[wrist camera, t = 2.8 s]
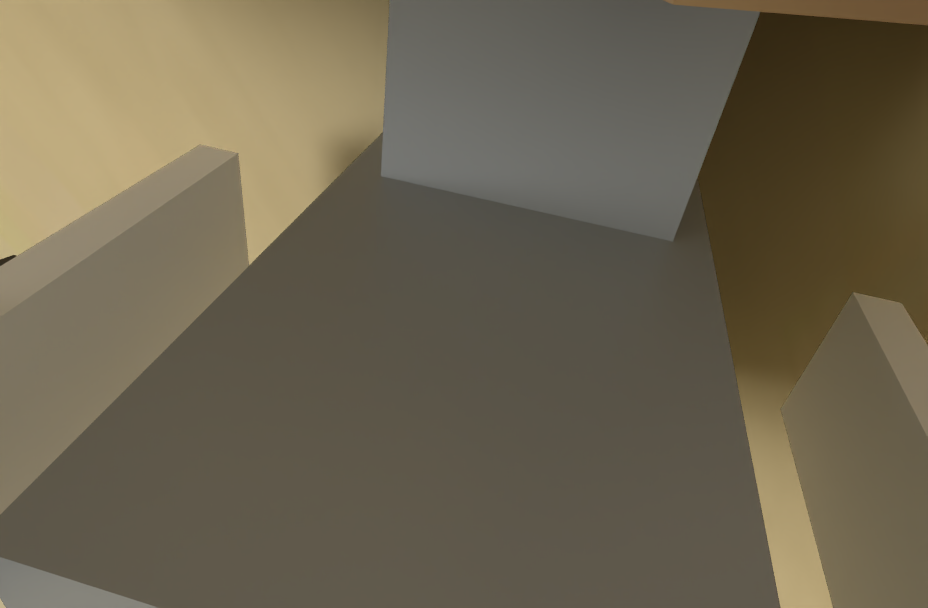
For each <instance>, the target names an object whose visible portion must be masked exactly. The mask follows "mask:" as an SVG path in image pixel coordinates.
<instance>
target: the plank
mask: <svg viewBox="0 0 928 608" xmlns="http://www.w3.org/2000/svg"><path fill="white" fill-rule="evenodd" d="M663 1H666V2H668V3H670V4H673V5H684V6H696V7H708V8H721V9H733V10H745V11H758V12H770V13H782V14H795V15H807V16H819V17H832V18H844V19H856V20H869V21H881V22H893V23H906V24H918V25H928V0H663Z"/></svg>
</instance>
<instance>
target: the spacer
mask: <svg viewBox="0 0 928 608" xmlns="http://www.w3.org/2000/svg"><path fill="white" fill-rule="evenodd" d="M759 14H760V12H758V11H745V10H733V9H721V8H708V7H696V6H684V5H673V4H670V3H668V2H666V1H663V0H390V4H389V24H388V44H387V64H386V83H385V103H384V123H383V133H382V134H381V135H380V136H379V137H378V138H377V139H376V140H375V141H374V142H373V143H372V144H371V145H370V146H369V147H368V148H367V149H366V150H365V151H364V152H363V153H362V154H361V155H360V156H359V157H358V158H357V159H356V160H355V161H354V162H353V163H352V164H351V165H350V166H349V167H348V168H347V169H346V170H345V171H344V172H343V173H342V174H341V175H340V176H339V177H338V178H337V179H336V180H335V181H334V182H333V183H331V185H329V186H328V187H327V188H326V189H325V190H324V191H323V192H322V193H321V194H320V195H319V196H318V197H317V198H316V199H315V200H314V201H313V202H312V203H311V204H310V205H309V206H308V207H307V208H306V209H305V210H304V211H303V212H302V213H301V214H300V215H299V216H298V217H297V218H296V219H295V220H294V221H293V222H292V223H291V224H290V225H289V226H288V227H287V228H286V229H285V230H284V231H283V232H282V233H281V234H280V235H279V236H278V237H277V238H276V239H275V240H274V241H273V242H272V243H271V244H270V245H269V246H268V247H267V248H266V249H265V250H264V251H263V252H262V253H261V254H260V255H259V256H258V257H257V258H256V259H255V260H254V261H253V262H252V263H251V264H250V265H249V266H248V267H247V268H246V269H245V270H244V271H243V272H242V273H241V274H240V275H239V276H238V277H237V278H236V279H235V280H234V281H233V282H232V283H231V284H230V285H229V286H228V287H227V288H226V289H225V290H224V291H223V292H222V293H221V294H220V295H219V296H218V297H217V298H216V299H215V300H214V301H213V302H212V303H211V304H210V305H209V306H208V307H207V308H206V309H205V310H204V311H203V312H202V313H201V314H200V315H199V316H198V317H197V318H196V319H195V320H194V321H193V322H192V323H191V324H190V325H189V326H188V327H187V328H186V329H185V330H184V331H183V332H182V333H181V334H180V335H179V336H178V337H177V338H176V339H175V340H174V341H173V342H172V343H171V344H170V345H169V346H168V347H167V348H166V349H165V350H164V351H163V352H162V353H161V354H160V355H159V356H158V357H157V358H156V359H155V360H154V361H153V362H152V363H151V364H150V365H149V366H148V367H147V368H146V369H145V370H144V371H143V372H142V373H141V374H140V375H139V376H138V377H137V378H136V379H135V380H134V381H133V382H132V383H131V384H130V385H129V386H128V387H127V388H126V389H125V390H124V391H123V392H122V393H121V394H120V395H119V396H118V397H117V398H116V399H115V400H114V401H113V402H112V403H111V404H110V405H109V406H108V407H107V408H106V409H105V410H104V411H103V412H102V413H101V414H100V415H99V416H98V417H97V418H96V419H95V420H94V421H93V422H92V423H91V424H90V425H89V426H88V427H87V428H86V429H85V430H84V431H83V432H82V433H81V434H80V435H79V436H78V437H77V438H76V439H75V440H74V441H73V442H72V443H71V444H70V445H69V446H68V447H67V448H66V449H65V450H64V451H63V452H62V453H61V454H60V455H59V456H58V457H57V458H56V459H55V460H54V461H53V462H52V463H51V464H50V465H49V466H48V467H47V468H46V469H45V470H44V471H43V472H42V473H41V474H40V475H39V476H38V477H37V478H36V479H35V480H34V481H33V482H32V483H31V484H30V485H29V486H28V487H27V488H26V489H25V490H24V491H23V492H22V493H21V494H20V495H19V496H18V497H17V498H16V499H15V500H14V501H13V502H12V503H11V504H10V505H9V506H8V507H7V508H6V509H5V510H4V511H3V512H2V513H1V514H0V599H1V600H2V602H3V604H4V605H5V607H6V608H780V603H779V598H778V593H777V588H776V582H775V577H774V572H773V567H772V562H771V556H770V551H769V546H768V541H767V536H766V530H765V525H764V520H763V515H762V510H761V504H760V499H759V494H758V489H757V484H756V479H755V473H754V468H753V463H752V458H751V453H750V447H749V442H748V437H747V432H746V427H745V421H744V416H743V411H742V406H741V401H740V395H739V390H738V385H737V380H736V375H735V369H734V364H733V359H732V354H731V349H730V343H729V338H728V333H727V328H726V323H725V317H724V312H723V307H722V302H721V297H720V291H719V286H718V281H717V276H716V271H715V266H714V260H713V255H712V250H711V245H710V240H709V234H708V229H707V224H706V219H705V214H704V208H703V203H702V198H701V193H700V188H699V182H698V174H699V172H700V169H701V166H702V164H703V161H704V158H705V156H706V153H707V151H708V148H709V145H710V143H711V140H712V138H713V135H714V132H715V130H716V127H717V124H718V122H719V119H720V117H721V114H722V111H723V109H724V106H725V103H726V101H727V98H728V96H729V93H730V90H731V88H732V85H733V83H734V80H735V77H736V75H737V72H738V69H739V67H740V64H741V62H742V59H743V56H744V54H745V51H746V49H747V46H748V43H749V41H750V38H751V35H752V33H753V30H754V28H755V25H756V22H757V20H758V17H759Z"/></svg>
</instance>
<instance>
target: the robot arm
mask: <svg viewBox="0 0 928 608" xmlns="http://www.w3.org/2000/svg"><path fill="white" fill-rule="evenodd" d="M248 266H249V261H248V250H247V240H246V229H245V219H244V209H243V198H242V188H241V177H240V167H239V156H238V153H235V152H231V151H226V150H222V149H218V148H213V147H209V146H204V145H198V146H197V147H195V148H194V149H192V150H190V151H189V152H187V153H185V154H184V155H182V156H180V157H179V158H177V159H175V160H174V161H172V162H171V163H169V164H167V165H166V166H164V167H162V168H161V169H159V170H157V171H156V172H154V173H153V174H151V175H149V176H148V177H146V178H144V179H143V180H141V181H139V182H138V183H136V184H134V185H133V186H131V187H130V188H128V189H126V190H125V191H123V192H121V193H120V194H118V195H116V196H115V197H113V198H111V199H110V200H108V201H107V202H105V203H103V204H102V205H100V206H98V207H97V208H95V209H93V210H92V211H90V212H88V213H87V214H85V215H84V216H82V217H80V218H79V219H77V220H75V221H74V222H72V223H70V224H69V225H67V226H66V227H64V228H62V229H61V230H59V231H57V232H56V233H54V234H52V235H51V236H49V237H47V238H46V239H44V240H43V241H41V242H39V243H38V244H36V245H34V246H33V247H31V248H29V249H28V250H26V251H24V252H23V253H21V254H20V255H18V256H15V255H12V256H9V257H7V258H4V259H1V260H0V514H1V513H2V512H3V511H4V510H5V509H6V508H7V507H8V506H9V505H10V504H11V503H12V502H13V501H14V500H15V499H16V498H17V497H18V496H19V495H20V494H21V493H22V492H23V491H24V490H25V489H26V488H27V487H28V486H29V485H30V484H31V483H32V482H33V481H34V480H35V479H36V478H37V477H38V476H39V475H40V474H41V473H42V472H43V471H44V470H45V469H46V468H47V467H48V466H49V465H50V464H51V463H52V462H53V461H54V460H55V459H56V458H57V457H58V456H59V455H60V454H61V453H62V452H63V451H64V450H65V449H66V448H67V447H68V446H69V445H70V444H71V443H72V442H73V441H74V440H75V439H76V438H77V437H78V436H79V435H80V434H81V433H82V432H83V431H84V430H85V429H86V428H87V427H88V426H89V425H90V424H91V423H92V422H93V421H94V420H95V419H96V418H97V417H98V416H99V415H100V414H101V413H102V412H103V411H104V410H105V409H106V408H107V407H108V406H109V405H110V404H111V403H112V402H113V401H114V400H115V399H116V398H117V397H118V396H119V395H120V394H121V393H122V392H123V391H124V390H125V389H126V388H127V387H128V386H129V385H130V384H131V383H132V382H133V381H134V380H135V379H136V378H137V377H138V376H139V375H140V374H141V373H142V372H143V371H144V370H145V369H146V368H147V367H148V366H149V365H150V364H151V363H152V362H153V361H154V360H155V359H156V358H157V357H158V356H159V355H160V354H161V353H162V352H163V351H164V350H165V349H166V348H167V347H168V346H169V345H170V344H171V343H172V342H173V341H174V340H175V339H176V338H177V337H178V336H179V335H180V334H181V333H182V332H183V331H184V330H185V329H186V328H187V327H188V326H189V325H190V324H191V323H192V322H193V321H194V320H195V319H196V318H197V317H198V316H199V315H200V314H201V313H202V312H203V311H204V310H205V309H206V308H207V307H208V306H209V305H210V304H211V303H212V302H213V301H214V300H215V299H216V298H217V297H218V296H219V295H220V294H221V293H222V292H223V291H224V290H225V289H226V288H227V287H228V286H229V285H230V284H231V283H232V282H233V281H234V280H235V279H236V278H237V277H238V276H239V275H240V274H241V273H242V272H243V271H244V270H245V269H246V268H247V267H248ZM781 412H782V416H783V420H784V424H785V427H786V431H787V435H788V439H789V442H790V446H791V450H792V454H793V457H794V461H795V465H796V469H797V473H798V476H799V480H800V484H801V488H802V491H803V495H804V499H805V503H806V507H807V510H808V514H809V518H810V522H811V525H812V529H813V533H814V537H815V541H816V544H817V548H818V552H819V556H820V559H821V563H822V567H823V571H824V574H825V578H826V582H827V586H828V590H829V593H830V597H831V601H832V605H833V608H928V345H927V343H926V342H925V340H924V339H923V337H922V335H921V334H920V332H919V330H918V329H917V327H916V326H915V324H914V322H913V321H912V319H911V317H910V316H909V314H908V313H907V311H906V309H905V308H904V306H903V304H902V303H900V302H895V301H891V300H886V299H882V298H878V297H873V296H869V295H864V294H860V293H855V292H853V293H852V294H851V296H850V297H849V299H848V301H847V302H846V304H845V306H844V307H843V309H842V310H841V312H840V314H839V315H838V317H837V318H836V320H835V322H834V323H833V325H832V327H831V328H830V330H829V331H828V333H827V335H826V336H825V338H824V339H823V341H822V343H821V344H820V346H819V348H818V349H817V351H816V352H815V354H814V356H813V357H812V359H811V360H810V362H809V364H808V365H807V367H806V369H805V370H804V372H803V373H802V375H801V377H800V378H799V380H798V382H797V383H796V385H795V386H794V388H793V390H792V391H791V393H790V394H789V396H788V398H787V399H786V401H785V403H784V404H783V406H782V407H781Z"/></svg>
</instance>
